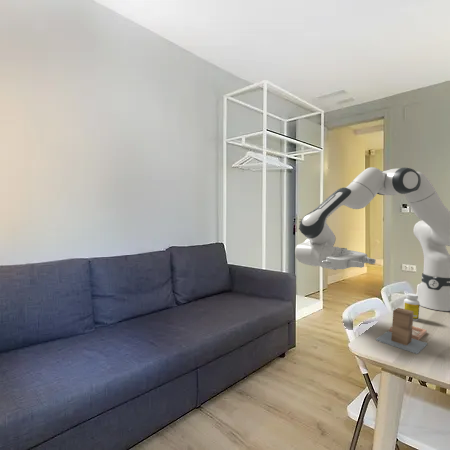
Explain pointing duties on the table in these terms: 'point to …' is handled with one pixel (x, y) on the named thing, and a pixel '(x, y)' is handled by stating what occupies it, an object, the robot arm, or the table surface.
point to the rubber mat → (413, 346)
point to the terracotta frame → (422, 332)
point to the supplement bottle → (412, 305)
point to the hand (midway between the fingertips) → (369, 263)
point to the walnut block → (402, 326)
